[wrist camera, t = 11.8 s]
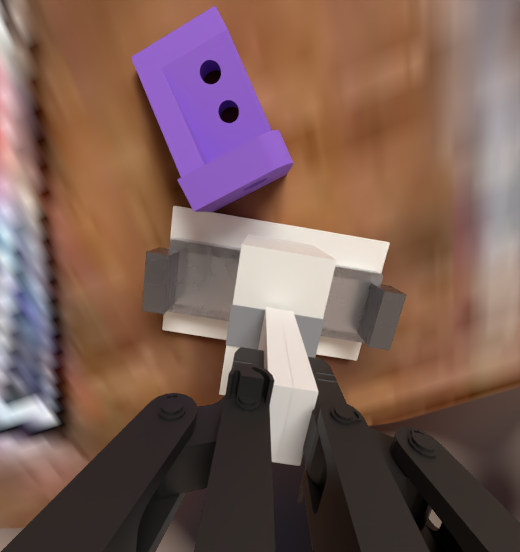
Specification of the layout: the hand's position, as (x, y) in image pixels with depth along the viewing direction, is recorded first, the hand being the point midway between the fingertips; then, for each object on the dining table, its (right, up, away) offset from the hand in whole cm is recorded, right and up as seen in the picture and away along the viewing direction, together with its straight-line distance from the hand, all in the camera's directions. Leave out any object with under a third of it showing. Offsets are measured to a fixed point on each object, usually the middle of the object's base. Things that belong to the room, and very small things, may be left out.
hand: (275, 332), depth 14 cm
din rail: (0, +2, +10) cm, 10 cm away
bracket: (-4, +15, +7) cm, 18 cm away
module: (0, +2, +7) cm, 7 cm away
